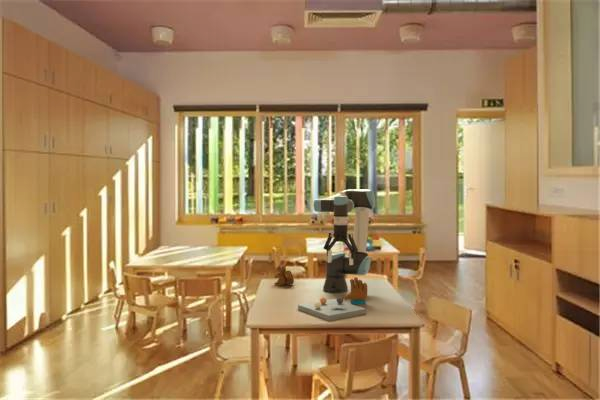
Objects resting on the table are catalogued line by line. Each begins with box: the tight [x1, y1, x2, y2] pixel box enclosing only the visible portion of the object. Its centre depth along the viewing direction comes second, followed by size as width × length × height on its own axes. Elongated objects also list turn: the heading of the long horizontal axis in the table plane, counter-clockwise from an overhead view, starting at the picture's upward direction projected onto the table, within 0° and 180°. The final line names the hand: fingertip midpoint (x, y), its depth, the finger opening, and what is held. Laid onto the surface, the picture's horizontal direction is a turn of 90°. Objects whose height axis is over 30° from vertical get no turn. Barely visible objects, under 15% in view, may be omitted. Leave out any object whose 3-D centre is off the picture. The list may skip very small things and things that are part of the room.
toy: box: [344, 276, 368, 305], centre depth 274 cm, size 12×7×15 cm, turn 71°
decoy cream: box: [315, 301, 321, 309], centre depth 253 cm, size 4×4×4 cm
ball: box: [319, 296, 328, 304], centre depth 262 cm, size 4×4×4 cm
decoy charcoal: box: [336, 296, 344, 304], centre depth 264 cm, size 4×4×4 cm
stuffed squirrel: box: [273, 264, 295, 286], centre depth 324 cm, size 10×14×13 cm
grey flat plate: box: [297, 298, 367, 322], centre depth 257 cm, size 26×24×2 cm
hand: (340, 263), depth 270 cm, fingers open, 13 cm apart
